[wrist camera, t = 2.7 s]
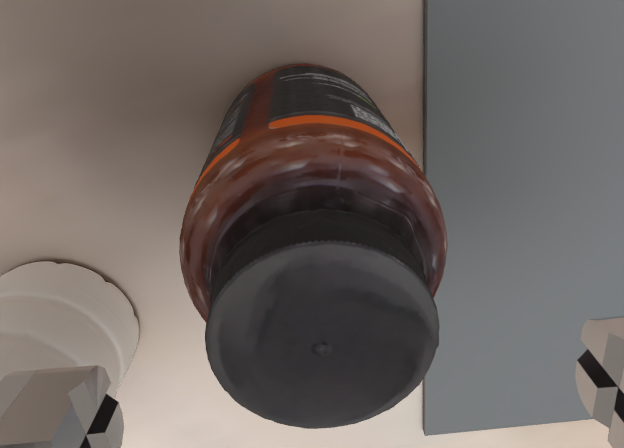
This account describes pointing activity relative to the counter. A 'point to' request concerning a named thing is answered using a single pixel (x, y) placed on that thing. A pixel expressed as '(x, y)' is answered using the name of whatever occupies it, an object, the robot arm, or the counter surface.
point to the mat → (522, 202)
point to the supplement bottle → (314, 253)
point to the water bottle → (64, 321)
